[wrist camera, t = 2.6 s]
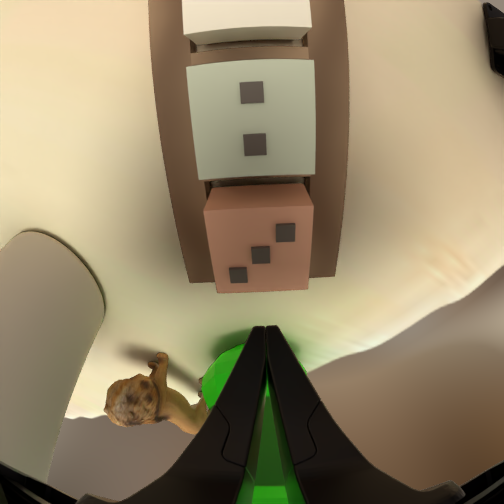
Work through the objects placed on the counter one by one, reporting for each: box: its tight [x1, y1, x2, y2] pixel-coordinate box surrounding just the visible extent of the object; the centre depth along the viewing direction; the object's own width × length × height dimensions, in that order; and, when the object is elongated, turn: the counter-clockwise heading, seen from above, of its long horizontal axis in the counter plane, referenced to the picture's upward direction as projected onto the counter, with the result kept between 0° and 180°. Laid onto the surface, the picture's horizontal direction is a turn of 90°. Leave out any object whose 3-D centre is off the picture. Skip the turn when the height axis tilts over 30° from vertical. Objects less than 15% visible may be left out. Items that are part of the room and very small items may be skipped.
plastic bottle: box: [201, 343, 307, 504], centre depth 16 cm, size 10×10×25 cm
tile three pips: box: [203, 183, 314, 293], centre depth 15 cm, size 5×5×3 cm
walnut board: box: [148, 0, 349, 283], centre depth 13 cm, size 10×21×2 cm, turn 3°
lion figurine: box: [104, 353, 210, 434], centre depth 25 cm, size 15×5×9 cm, turn 46°
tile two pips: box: [186, 59, 316, 180], centre depth 11 cm, size 5×5×3 cm
